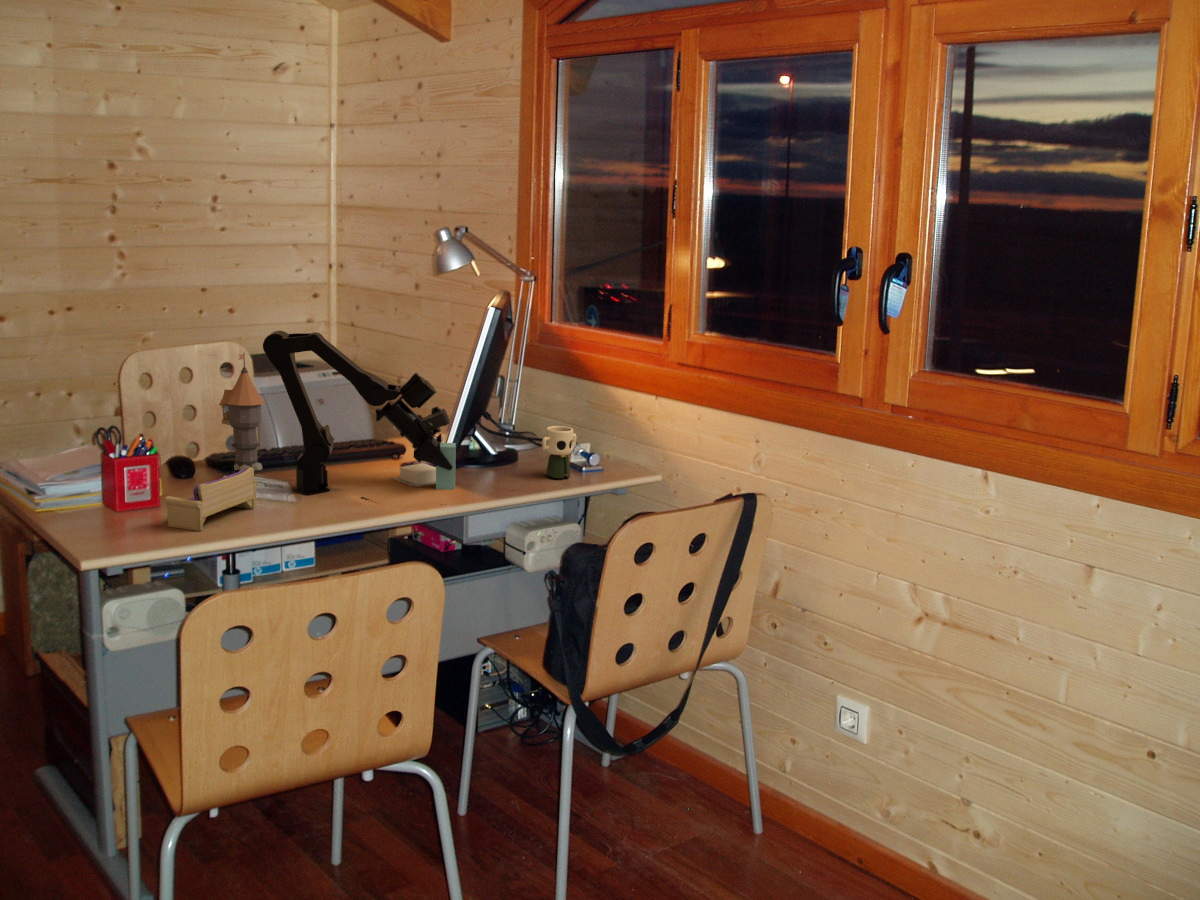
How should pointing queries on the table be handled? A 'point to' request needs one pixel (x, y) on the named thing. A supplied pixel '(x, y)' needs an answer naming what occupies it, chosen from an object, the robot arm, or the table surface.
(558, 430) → the character mug
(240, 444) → the model tower
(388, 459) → the table surface
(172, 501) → the toy sofa
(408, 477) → the cream slab brick
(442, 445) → the teal column brick
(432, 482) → the grey baseplate
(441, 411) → the robot arm
